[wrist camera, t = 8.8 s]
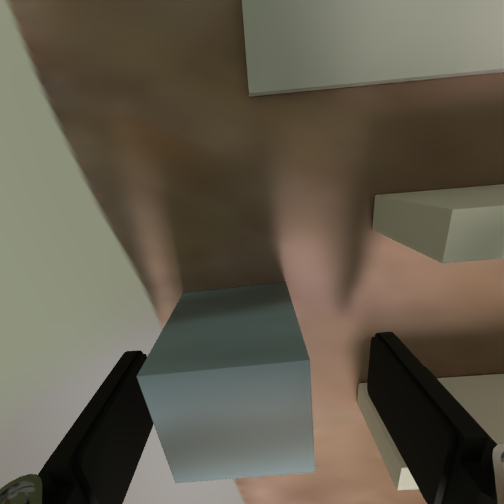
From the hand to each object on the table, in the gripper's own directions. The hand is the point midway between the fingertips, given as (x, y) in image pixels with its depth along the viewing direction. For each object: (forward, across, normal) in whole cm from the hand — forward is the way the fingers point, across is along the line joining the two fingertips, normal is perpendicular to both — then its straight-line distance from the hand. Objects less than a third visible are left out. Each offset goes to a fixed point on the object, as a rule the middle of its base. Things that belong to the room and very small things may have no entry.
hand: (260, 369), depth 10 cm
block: (+3, +1, 0) cm, 3 cm away
